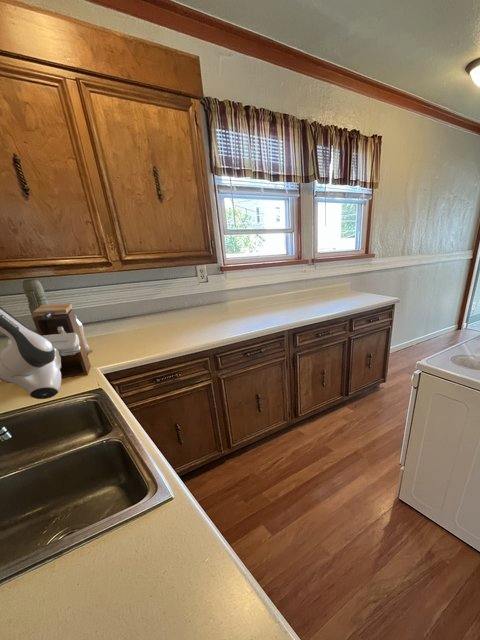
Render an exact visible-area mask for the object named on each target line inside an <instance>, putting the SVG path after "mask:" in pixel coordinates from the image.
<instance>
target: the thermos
mask: <svg viewBox="0 0 480 640" xmlns="http://www.w3.org/2000/svg"><path fill="white" fill-rule="evenodd" d="M22 289H23V291H24V294H25V297H26V299H27V303H28V309H29V312H30V315H31V318H33V317H34V316H33V313H32V312H33V311H35V310H36V309H37V308H39V307H40V306H41V305H50V302H49V301H48V299H47V298H46V293H45V290H44V287H43V285H42V283H41V282H40V280H39V279H37V278H33V279H32V278H31V279H29V278H28V279H24V280H23V281H22Z"/></svg>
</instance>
